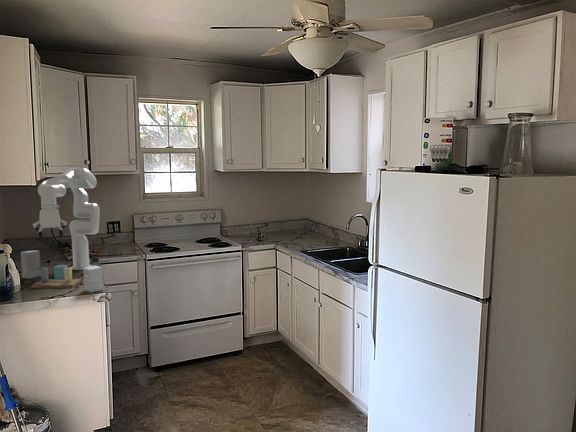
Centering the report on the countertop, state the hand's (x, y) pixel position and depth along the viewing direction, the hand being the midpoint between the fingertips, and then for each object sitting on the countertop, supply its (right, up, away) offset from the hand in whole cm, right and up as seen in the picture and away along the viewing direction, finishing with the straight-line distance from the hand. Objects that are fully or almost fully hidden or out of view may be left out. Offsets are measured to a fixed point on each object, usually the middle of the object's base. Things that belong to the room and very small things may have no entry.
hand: (51, 237), depth 264 cm
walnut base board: (+2, -27, +3) cm, 27 cm away
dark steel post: (-4, -25, +2) cm, 26 cm away
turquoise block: (-2, -25, +17) cm, 30 cm away
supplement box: (+27, -28, -8) cm, 40 cm away
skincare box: (-21, -25, +20) cm, 38 cm away
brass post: (+9, -25, +3) cm, 27 cm away
